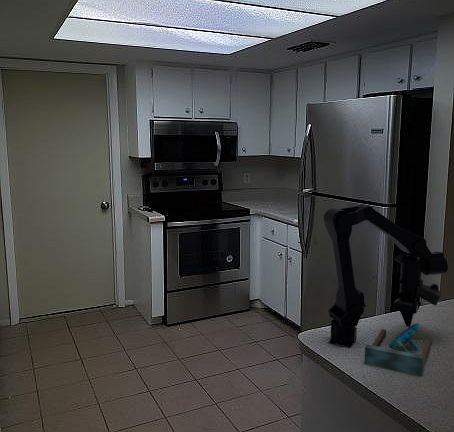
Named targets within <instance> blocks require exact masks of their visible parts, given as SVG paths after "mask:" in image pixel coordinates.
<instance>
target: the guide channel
mask: <svg viewBox="0 0 454 432" xmlns="http://www.w3.org/2000/svg"><path fill="white" fill-rule="evenodd" d="M386 336H387V329H386V328H385V329H381V330H380V331H379V333H378V335H377V336H376V338H375V339H374V341H373V343H372V344H366V345H365V346H364V361H363V362H364V364H366V365H370V366H373V365H374V367H378V368H382V369H386V370H387V369H388V370H392V369H393V371H396V370H398V371H397V372H401V371H402V373H406V374H410V375H411V374H412V375H416V376H419V377H422V375H423V372H424V369H425V365H426V362H427V359H428V357H429V353H430V351H431V347H432V342H433V338H432V337H429V336H428V337H426V340H425V342H424V346H423V347H422V351H421V353H420V354H417V353H411V352H409V353H407V352H405V351H402V350H396V349H391V348H387V347H382V346H381V345H382V344H383V342H384V340H385V338H386ZM381 343H382V344H381Z"/></svg>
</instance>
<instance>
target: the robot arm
mask: <svg viewBox="0 0 454 432" xmlns="http://www.w3.org/2000/svg"><path fill="white" fill-rule="evenodd" d="M323 222H324V225H325V229H326V231H327V233H328V235H329V237H330V239H331V241H332V247H333V254H334V261H335V268H336V270H335V271H336V276H337V283H338V289H337V292H336V295H335V303H334V304H333V305H332V306H331V307H330V308H329V310H328V311H327V312H328V313H327V314H328V316H329V318H331V321H330V339H329V340H328V343H329V344H332V345H336V346H340V347H341V346H342V347H345V348H346V347H347V348H351V347H352V346H353V345H354V344H355V343H356V341H357V329H358V327H357V326H358V324H359V321H360V320H361V317H362V316H363V315H364V313H365V308H366V307H367V305H366V303H365V293H364V292H363V291H361V290H359V289H357V287H356V282H355V273H354V266H353V259H352V252H351V245H350V237H351V234H352V231H353V226H355V225H359V224H362V223H363V222H366V223H368V224H370V225H371V226H372V227H374V228H376V229H377V230H379V231H380V232H382V233H383V234H384V235H386V236H388V237H389V238H390V239H391V240H392V242H393V243H394V244H395V246H397V247H398V249H400V250H401V251H403V252H404V253H407V254H410V255H406V254H404V253H401V252H400V253H399V254H398V255H397V256H395V257H394V261H396V262H397V263H400V278H399V280H398V284H399V292H398V294H397V295H398V297H399V298H397V299H395V301H394V302H393V305H392V306H393V311H395V312H400V314H401V317H402V319H403V321H404V324H405V326H406V327H407V328H408V327H410V326H412V323H413V318H414V316H415V315H414V314H417V312H418V311H419V309H420V307H421V305H422V302H421V299H422V300H423V301H426V302H428V303H430V304H431V305H433V306H437V305H438V303H439V301H440V299H441V297H442V294H443V293H442V291H441V290H440V289H439V284H436V283H432V284H430V285H426V284H424V280H423V278H422V275H424V276H434V275H437V276H438V275H446V273H447V272H448V270H449V264H448V261H447V258H445V256H444V255H445V254H444V252H442V251H434V252H432V251H430V249H429V247H428V246H427V240H426V238H425V237H423V236H421V235H418V234H417V233H414V232H413V231H412V232H411V231H409V230H407V229H405V228H402V227H400V226H399V225H397V224H396V223H395V222H393V221H392V220H390V219H389V218H388V217H386V216H385V215H383V214H382V213H380V212H379V211H377V210H376V209H375V208H374V207H373V206H372V205H367V204H363V203H362V204H359V205H356V206H349V207H341V208H337V207H331V208H329V209H328V210H326V212H325V213H324V214H323Z"/></svg>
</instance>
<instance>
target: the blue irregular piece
mask: <svg viewBox="0 0 454 432" xmlns="http://www.w3.org/2000/svg"><path fill="white" fill-rule="evenodd" d="M419 328H420V324H419V323H418V322H417V323H414V324H411V326H410V327H407V328H406V329H405V330H403V331H401V332H400V334H399V335H397V336H396V337H394V339H393V340H391V341H390V344H389V346H390V348H395V347H396V346H398V347H399V349H400V350H403V352H407V353H410V352H409V350H408V349H407V348H406V346H407V345H408V344H409V345H410V346H411V347H412V348H413V350H416V351H417V350H419V347H418V346H417V345H416V344H415V343H414V342H413V341H412V337H410V335H411V336H412V335H413V334H414V333H415V331H417V330H419Z"/></svg>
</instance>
